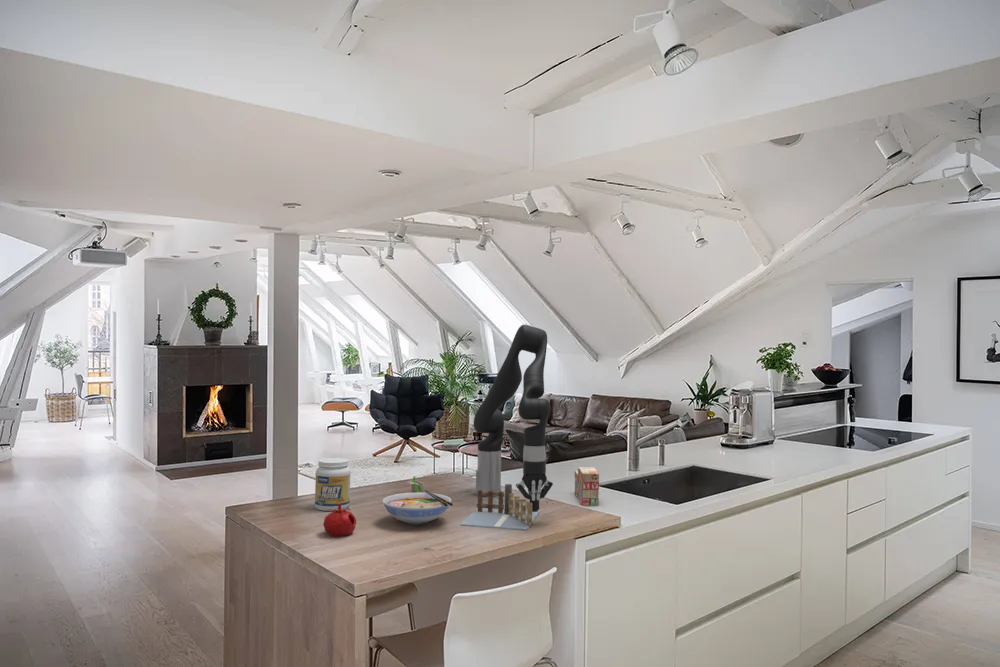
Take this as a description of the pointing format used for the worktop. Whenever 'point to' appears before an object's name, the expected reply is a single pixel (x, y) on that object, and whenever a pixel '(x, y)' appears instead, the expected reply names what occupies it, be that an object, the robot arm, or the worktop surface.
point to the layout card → (497, 520)
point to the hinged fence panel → (523, 508)
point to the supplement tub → (332, 484)
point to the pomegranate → (340, 522)
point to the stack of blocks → (587, 486)
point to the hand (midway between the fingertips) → (534, 511)
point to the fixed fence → (490, 500)
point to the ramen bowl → (417, 506)
